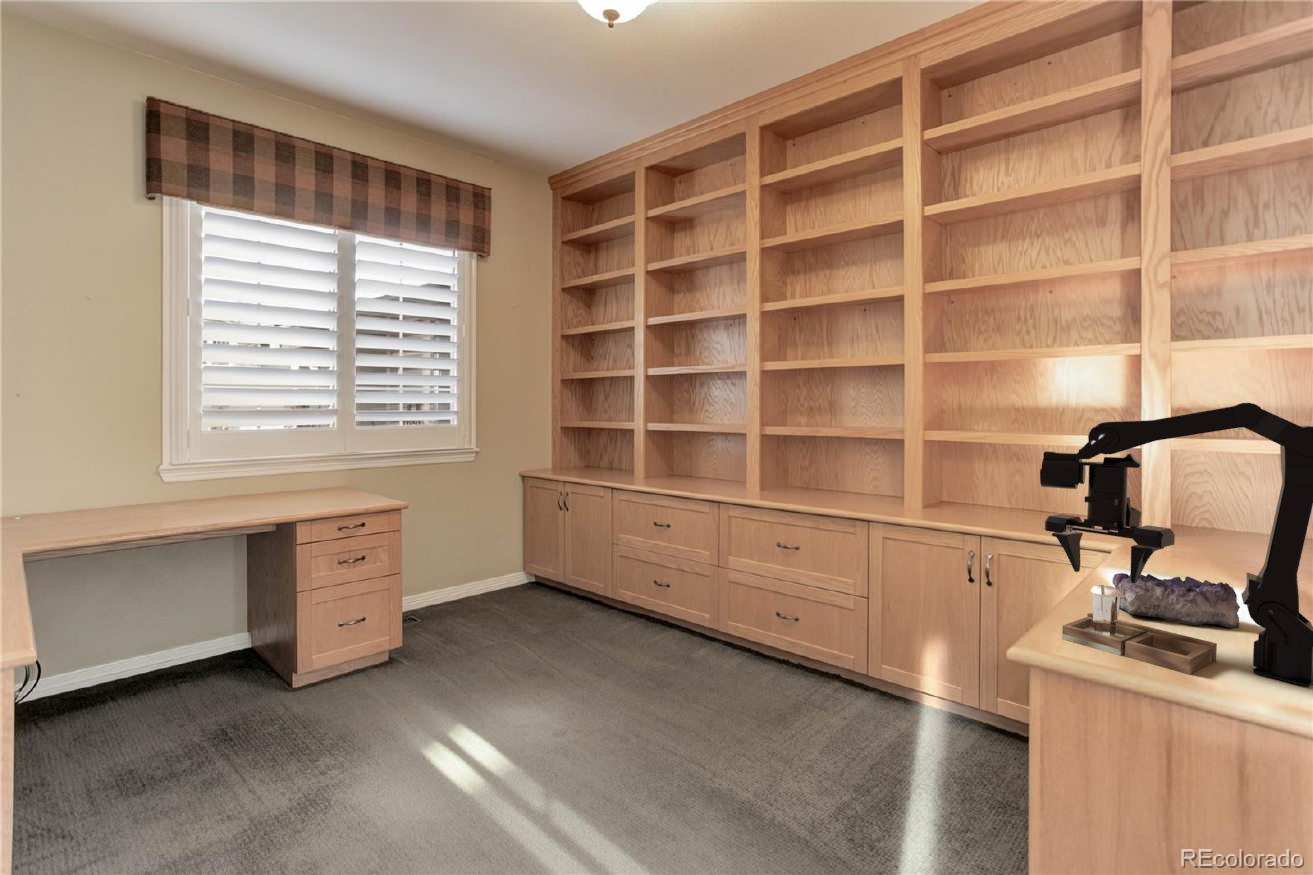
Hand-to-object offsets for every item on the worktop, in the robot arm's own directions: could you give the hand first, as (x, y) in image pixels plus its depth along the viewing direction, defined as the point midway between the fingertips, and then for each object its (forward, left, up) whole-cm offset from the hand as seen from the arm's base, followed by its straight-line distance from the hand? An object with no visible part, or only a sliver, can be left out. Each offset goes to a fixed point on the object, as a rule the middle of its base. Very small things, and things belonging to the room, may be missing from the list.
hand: (1104, 577), depth 116 cm
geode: (-1, -27, -12) cm, 30 cm away
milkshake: (0, 0, -11) cm, 11 cm away
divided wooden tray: (-5, 0, -12) cm, 13 cm away
